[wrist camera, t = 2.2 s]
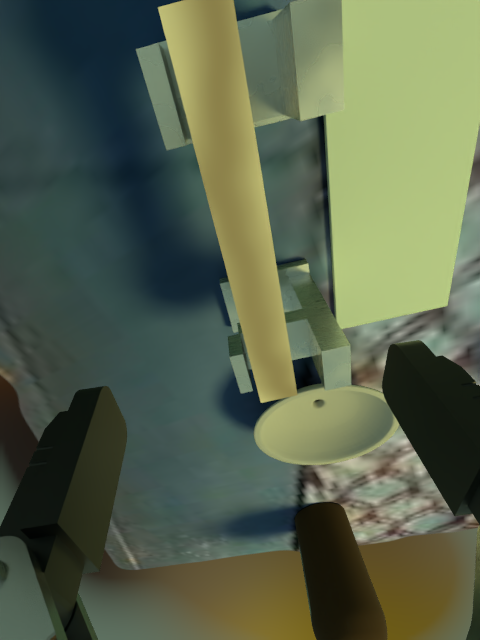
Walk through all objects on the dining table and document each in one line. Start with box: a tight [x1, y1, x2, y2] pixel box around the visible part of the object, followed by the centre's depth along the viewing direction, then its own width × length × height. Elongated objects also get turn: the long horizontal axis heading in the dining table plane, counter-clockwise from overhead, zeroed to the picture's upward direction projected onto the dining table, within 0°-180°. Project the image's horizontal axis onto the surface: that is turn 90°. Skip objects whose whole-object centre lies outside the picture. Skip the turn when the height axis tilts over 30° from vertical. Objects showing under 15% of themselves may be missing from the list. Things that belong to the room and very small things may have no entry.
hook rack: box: [136, 0, 351, 393], centre depth 24 cm, size 8×24×12 cm, turn 12°
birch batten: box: [158, 0, 297, 403], centre depth 21 cm, size 3×24×3 cm, turn 12°
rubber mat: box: [324, 0, 480, 329], centre depth 28 cm, size 12×30×1 cm, turn 12°
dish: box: [254, 384, 399, 465], centre depth 42 cm, size 18×14×5 cm
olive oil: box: [295, 503, 387, 640], centre depth 52 cm, size 11×11×25 cm
